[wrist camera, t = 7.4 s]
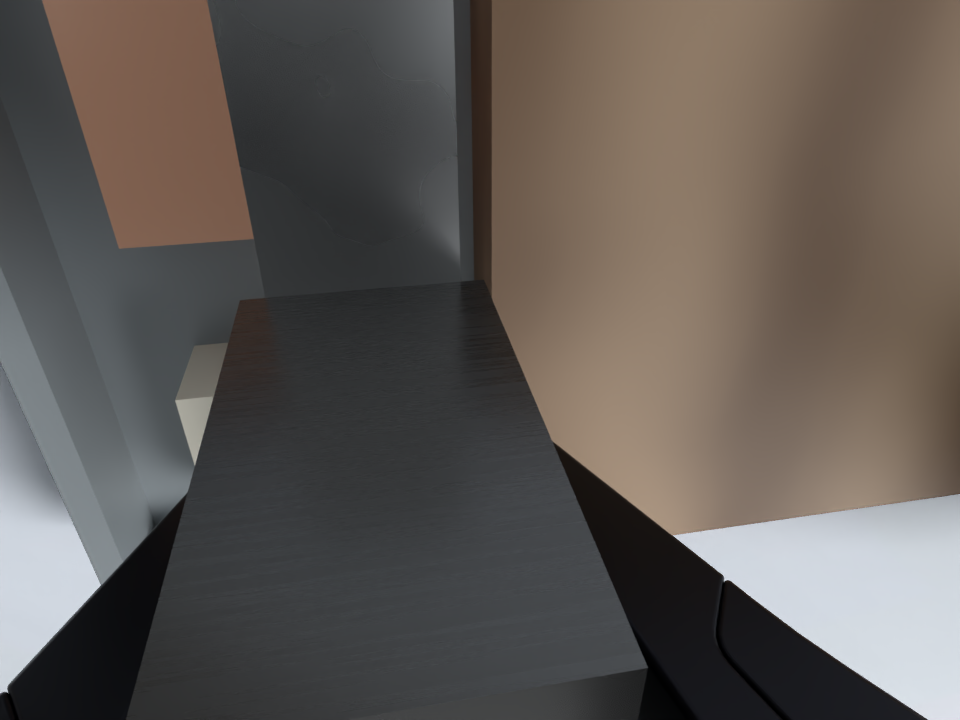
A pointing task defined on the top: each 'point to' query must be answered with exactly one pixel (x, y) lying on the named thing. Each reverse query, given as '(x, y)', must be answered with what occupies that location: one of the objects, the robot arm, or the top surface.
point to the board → (728, 244)
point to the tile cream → (199, 391)
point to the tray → (116, 300)
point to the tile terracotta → (154, 118)
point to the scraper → (372, 423)
